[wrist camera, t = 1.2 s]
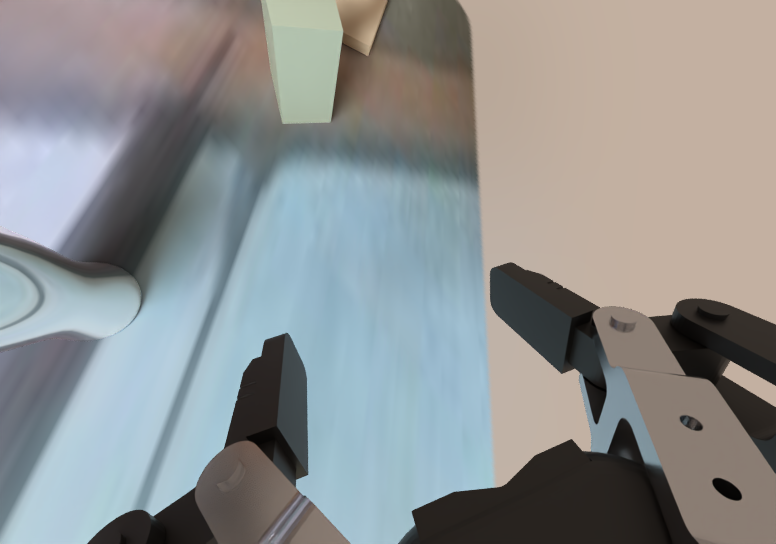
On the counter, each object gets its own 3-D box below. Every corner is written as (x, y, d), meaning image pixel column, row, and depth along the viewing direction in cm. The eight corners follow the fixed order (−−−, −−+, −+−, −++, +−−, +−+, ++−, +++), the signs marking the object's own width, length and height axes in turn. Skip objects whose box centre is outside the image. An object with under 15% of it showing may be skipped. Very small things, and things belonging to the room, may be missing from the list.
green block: (330, 122, 30) (343, 31, 20) (282, 123, 28) (271, 25, 19) (318, 72, 30) (325, -39, 21) (270, 71, 29) (254, -50, 19)
